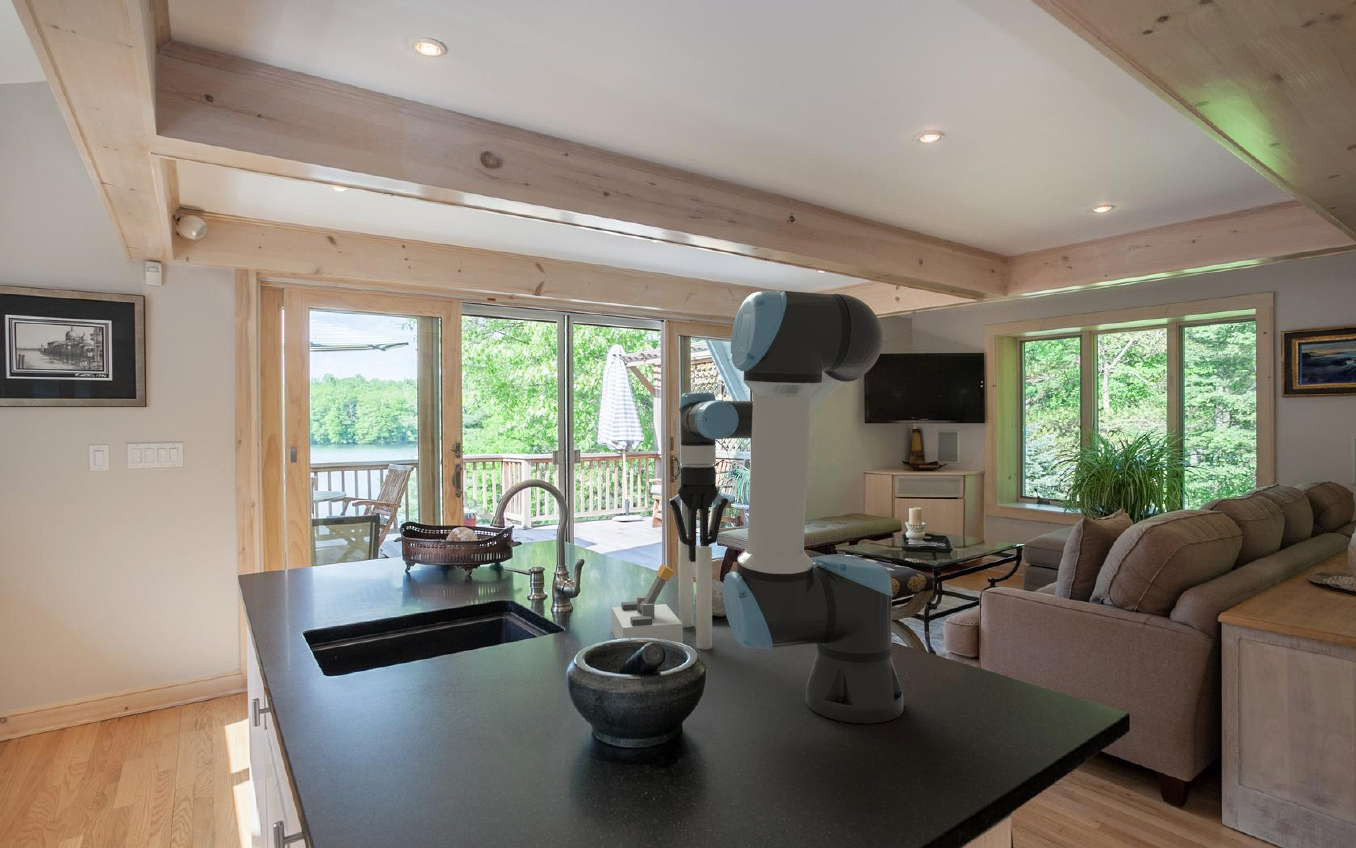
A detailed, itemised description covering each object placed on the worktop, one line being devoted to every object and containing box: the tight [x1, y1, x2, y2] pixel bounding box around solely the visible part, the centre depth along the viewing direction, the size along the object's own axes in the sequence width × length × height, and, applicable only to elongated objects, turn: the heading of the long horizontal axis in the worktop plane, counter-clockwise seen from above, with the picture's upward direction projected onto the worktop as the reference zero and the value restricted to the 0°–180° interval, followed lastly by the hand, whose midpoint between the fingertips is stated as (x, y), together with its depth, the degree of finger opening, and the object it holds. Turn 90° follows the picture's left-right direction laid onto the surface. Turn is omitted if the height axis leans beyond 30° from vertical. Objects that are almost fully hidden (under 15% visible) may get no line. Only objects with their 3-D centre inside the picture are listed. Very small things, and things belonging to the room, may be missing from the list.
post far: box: [677, 534, 694, 629], centre depth 160 cm, size 3×3×20 cm
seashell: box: [693, 578, 727, 617], centre depth 170 cm, size 9×12×15 cm
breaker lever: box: [639, 563, 675, 611], centre depth 151 cm, size 4×2×10 cm, turn 13°
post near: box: [695, 545, 713, 650], centre depth 145 cm, size 3×3×20 cm
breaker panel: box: [611, 596, 684, 643], centre depth 150 cm, size 16×12×8 cm
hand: (698, 576), depth 153 cm, fingers closed
